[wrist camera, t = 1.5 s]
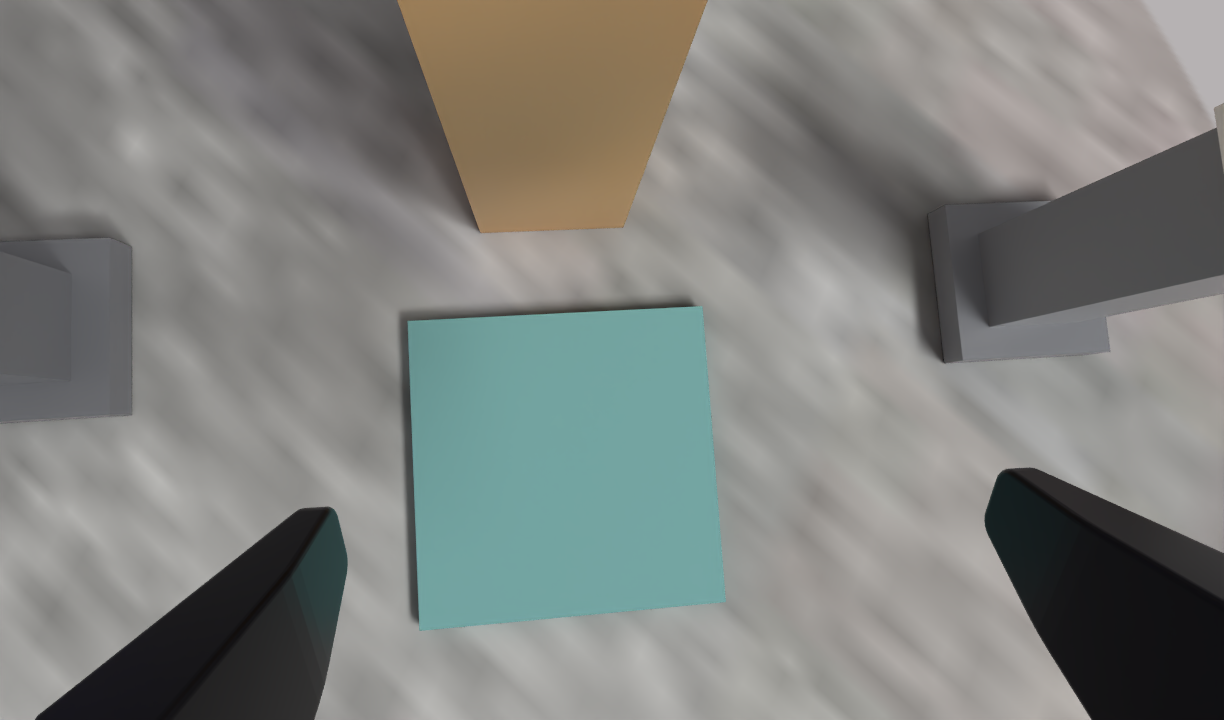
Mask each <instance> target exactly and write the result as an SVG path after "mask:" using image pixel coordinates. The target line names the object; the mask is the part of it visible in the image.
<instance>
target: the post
mask: <svg viewBox="0 0 1224 720" xmlns="http://www.w3.org/2000/svg"><path fill="white" fill-rule="evenodd" d="M129 415H132V247H131V246H128V245H126V244H124V243H121V242H119V241H117V240H114V239H112V238H84V239H57V240H30V241H2V242H0V423H14V422H30V421H47V420H63V419H79V418H96V417H112V416H129Z"/></svg>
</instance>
